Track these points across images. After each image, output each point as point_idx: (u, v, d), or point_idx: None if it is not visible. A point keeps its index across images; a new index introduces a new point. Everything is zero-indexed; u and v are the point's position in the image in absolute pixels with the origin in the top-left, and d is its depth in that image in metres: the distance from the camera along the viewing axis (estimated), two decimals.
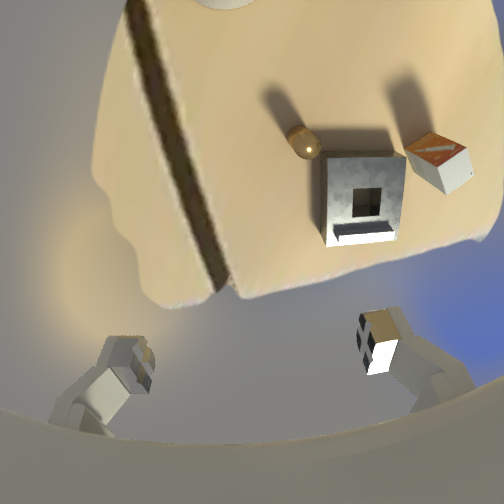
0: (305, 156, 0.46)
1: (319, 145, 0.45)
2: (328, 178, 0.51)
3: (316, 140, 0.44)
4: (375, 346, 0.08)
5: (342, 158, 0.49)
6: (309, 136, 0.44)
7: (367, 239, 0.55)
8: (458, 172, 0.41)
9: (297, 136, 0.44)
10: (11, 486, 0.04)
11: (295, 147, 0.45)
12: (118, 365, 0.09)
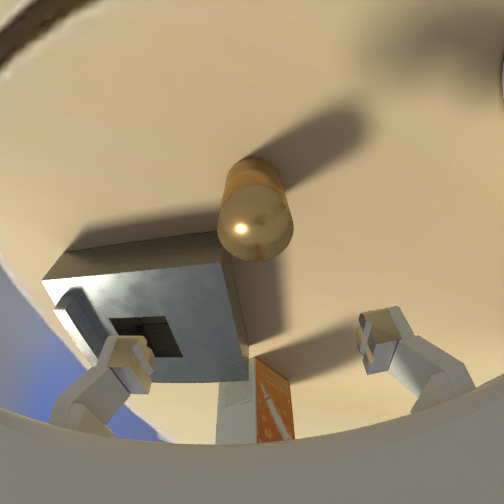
0: (225, 226, 0.17)
1: (260, 257, 0.18)
2: (172, 269, 0.22)
3: (274, 248, 0.18)
4: (375, 346, 0.08)
5: (225, 291, 0.24)
6: (283, 230, 0.17)
7: (84, 352, 0.25)
8: None
9: (279, 198, 0.17)
10: (11, 486, 0.04)
11: (249, 197, 0.16)
12: (118, 365, 0.09)
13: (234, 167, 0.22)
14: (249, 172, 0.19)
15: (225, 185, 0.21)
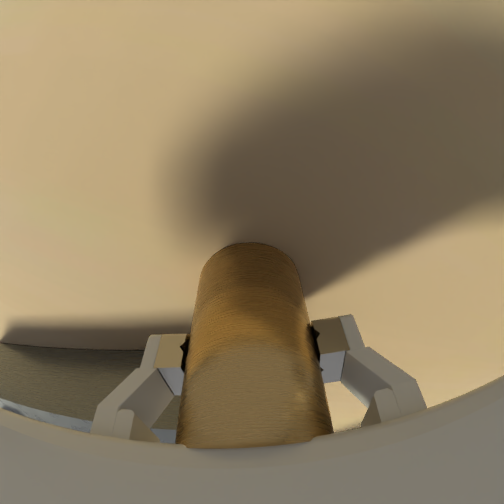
0: None
1: None
2: None
3: None
4: (320, 356, 0.09)
5: None
6: None
7: None
8: None
9: (314, 419, 0.06)
10: (11, 486, 0.04)
11: (241, 444, 0.05)
12: (166, 365, 0.09)
13: (211, 268, 0.11)
14: (240, 312, 0.09)
15: (193, 314, 0.10)
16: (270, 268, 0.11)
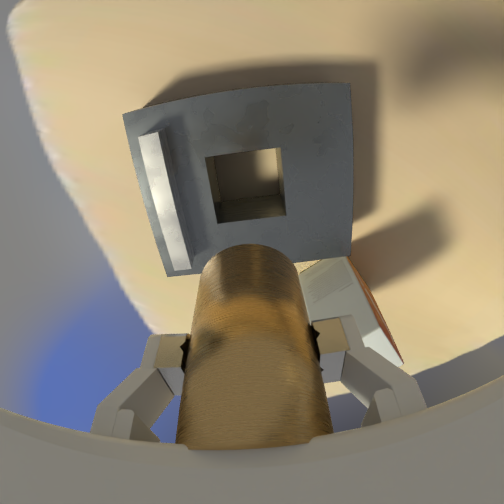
0: None
1: None
2: (303, 85, 0.20)
3: None
4: (320, 356, 0.09)
5: (350, 116, 0.21)
6: None
7: (159, 208, 0.23)
8: None
9: (315, 421, 0.06)
10: (11, 486, 0.04)
11: (241, 446, 0.05)
12: (166, 365, 0.09)
13: (212, 270, 0.11)
14: (241, 313, 0.09)
15: (194, 316, 0.10)
16: (270, 269, 0.11)
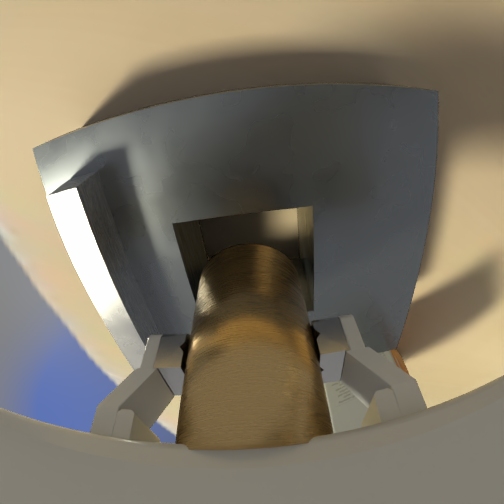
0: None
1: None
2: (360, 88, 0.09)
3: None
4: (320, 356, 0.09)
5: (433, 151, 0.11)
6: None
7: (103, 312, 0.12)
8: None
9: (314, 421, 0.06)
10: (11, 486, 0.04)
11: (241, 446, 0.05)
12: (166, 365, 0.09)
13: (212, 270, 0.11)
14: (241, 314, 0.09)
15: (194, 316, 0.10)
16: (270, 269, 0.11)
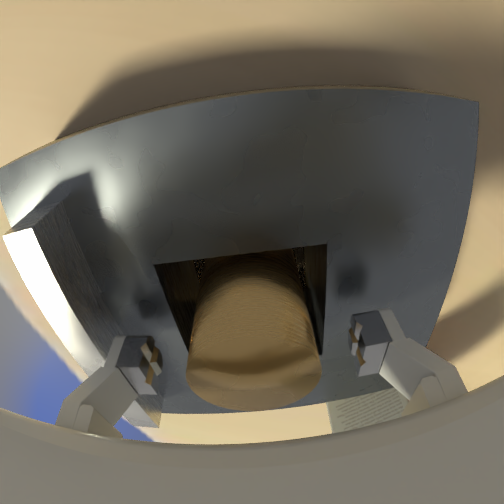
0: (199, 377, 0.09)
1: (261, 407, 0.10)
2: (392, 95, 0.07)
3: (286, 398, 0.10)
4: (365, 348, 0.09)
5: (470, 174, 0.08)
6: (302, 379, 0.09)
7: (81, 361, 0.10)
8: None
9: (300, 331, 0.09)
10: (11, 486, 0.04)
11: (242, 343, 0.08)
12: (127, 365, 0.09)
13: None
14: (242, 257, 0.11)
15: (203, 267, 0.13)
16: None
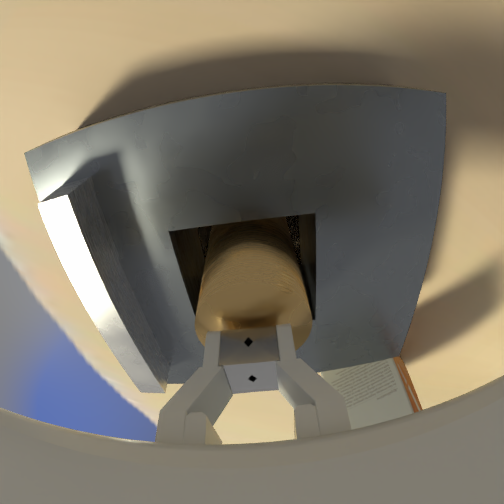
0: (206, 325, 0.11)
1: None
2: (366, 89, 0.09)
3: None
4: (250, 365, 0.09)
5: (441, 155, 0.10)
6: (296, 329, 0.11)
7: (99, 322, 0.12)
8: None
9: (292, 282, 0.11)
10: (11, 486, 0.04)
11: (244, 289, 0.10)
12: (233, 362, 0.09)
13: None
14: (244, 226, 0.13)
15: (209, 239, 0.15)
16: None
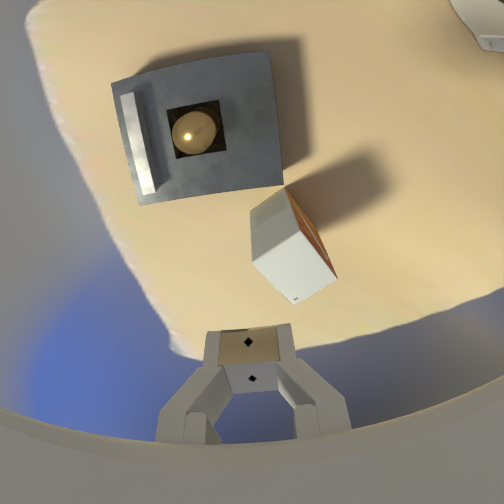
0: (176, 132, 0.28)
1: (196, 151, 0.29)
2: (233, 55, 0.26)
3: (204, 145, 0.29)
4: (249, 365, 0.09)
5: (270, 74, 0.28)
6: (208, 133, 0.28)
7: (133, 145, 0.29)
8: (294, 275, 0.32)
9: (206, 116, 0.28)
10: (11, 486, 0.04)
11: (188, 115, 0.27)
12: (233, 362, 0.09)
13: None
14: (194, 110, 0.30)
15: None
16: (206, 109, 0.33)
